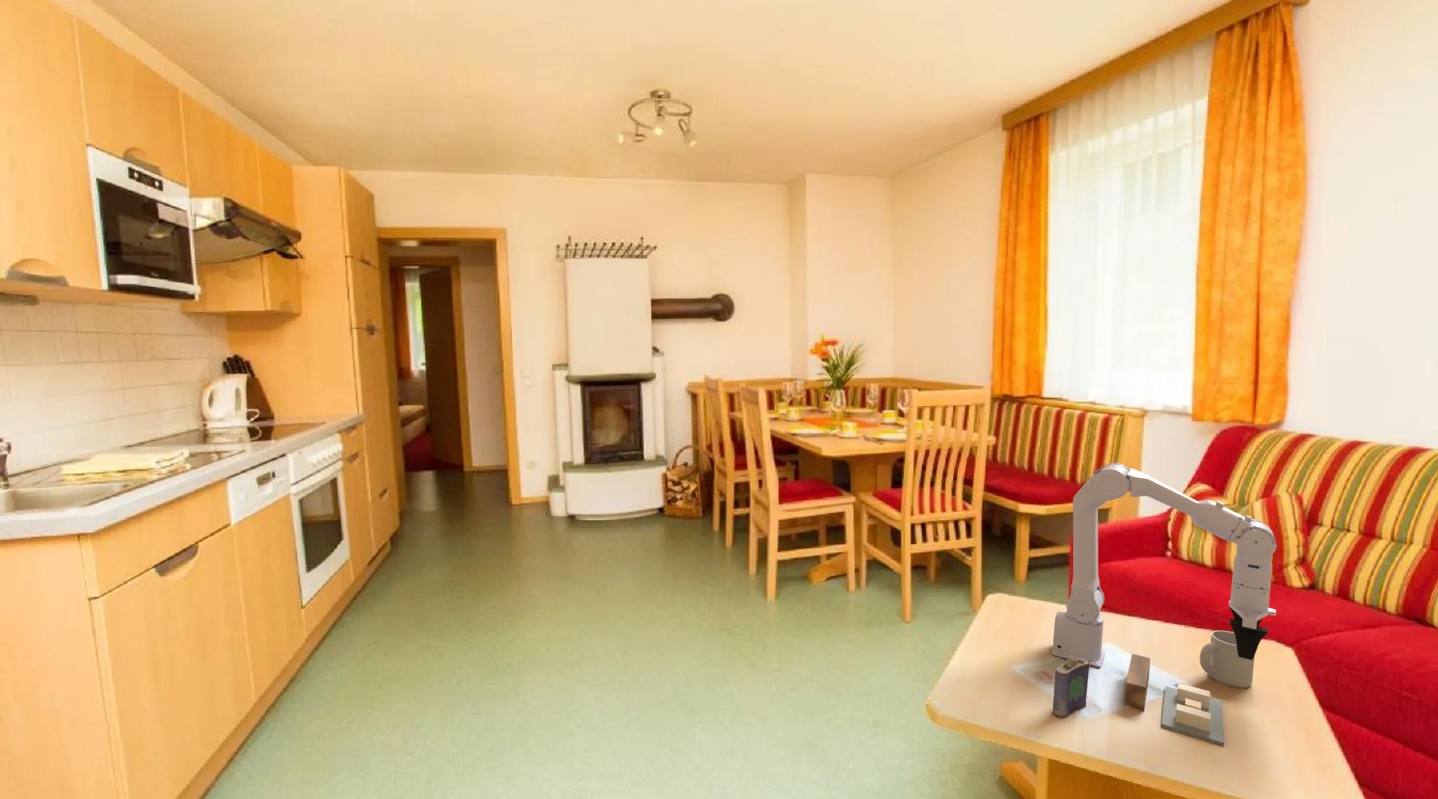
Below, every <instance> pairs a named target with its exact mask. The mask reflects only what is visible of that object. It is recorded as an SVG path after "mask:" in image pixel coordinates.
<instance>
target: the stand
mask: <svg viewBox="0 0 1438 799" xmlns="http://www.w3.org/2000/svg"><path fill="white" fill-rule="evenodd" d="M1222 703H1223V702H1222V701H1221V700H1218V699H1215V698H1211V692H1210V691H1209V690H1206V689H1202V688H1199V687H1194V686H1191V685H1187V684H1183V683H1180V682H1177V688H1174V687H1171V686H1167V685H1165V688H1164V696H1163V706H1162V707H1163V709H1162V717H1161V728H1164V729H1167V730H1171V731H1174V732H1177V733H1181V734H1183V735H1186V736H1189V737H1190V736H1191V737H1194V738H1196V739H1200V740H1203V741H1206V742H1210V743H1213V744H1215V745H1216V744H1217V745H1219V746H1225V735H1224V734H1225V733H1224V718H1223V716H1224V715H1223V704H1222Z"/></svg>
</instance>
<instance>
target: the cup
mask: <svg viewBox="0 0 1438 799" xmlns="http://www.w3.org/2000/svg"><path fill="white" fill-rule="evenodd" d="M1255 656H1256V655H1255ZM1255 656H1254V658H1253V660H1249V659H1245V658H1241V657H1239V656H1238V652H1237V645H1236V638H1235V634H1234V631H1228V630H1227V631H1226V630H1214V631H1211V635H1210V642H1208V643H1206V644H1205V645H1203V646H1202V648H1201V649H1200V653H1199V664H1200V666H1201V668H1202V670H1203V671H1204V672H1205V673H1208V675H1209V676H1210V677H1211V679H1213V680H1214V681H1216V682H1218V683H1220V684H1223V685H1226V686H1228V687H1231V688H1232V687H1233V688H1238V689H1239V688H1240V689H1246V688H1249V687H1251V685H1252V683H1253V678H1254V669H1255V668H1254V667H1255V666H1254V665H1255Z"/></svg>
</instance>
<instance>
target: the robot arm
mask: <svg viewBox="0 0 1438 799" xmlns="http://www.w3.org/2000/svg"><path fill="white" fill-rule="evenodd" d="M1128 492H1130V493H1129V498H1140V497H1147V498H1148V497H1149V498H1151V499H1152V500H1156V501H1157V502H1160V503H1161V504H1164V505H1166V506H1168V507H1170V508H1172V509H1175V510H1176V511H1180V512H1181V513H1183V514H1186V515H1188V516H1189V517H1190V519H1191V521H1192V522H1191V523H1192V524H1193V525H1195V526H1196V527H1198V528H1200V529H1202V530H1205V531H1206V532H1208V533H1210V534H1213V535H1215V536H1216V537H1218V538H1221V539H1222V540H1225V541H1226V542H1229V543H1234V544H1235V545H1236V554H1235V556H1234V558H1233V568H1232V569H1233V570H1232V577H1231V578H1232V580H1231V589H1230V590H1231V591H1230V600H1229V601H1228V606H1229V610H1230V611H1231V613H1232V616H1233V618H1231V617H1230V618H1229V625H1230V627H1231V629H1232V632H1233V633H1234V634H1235V638H1236V645H1237V652H1238V656H1239V657H1241V658H1245V659H1249V660H1253V658H1254V659H1255V657H1254V656H1256V654H1257V653H1256V652H1257V650H1258V648H1259V645H1260V643H1261V642H1262V640H1263V639H1264V638H1265V636H1267V634H1268V632H1269V629H1268V627H1263V626H1260V623H1261V622H1262V620H1263V619H1265V617H1267V616H1269V615H1270V616H1274V617H1275V616H1277V610H1276V608H1275V609H1274V608H1271V607H1269V606H1270V595H1271V584H1272V574H1273V563H1272V561H1273V557H1274V556H1273V553H1275V551H1276V550H1277V547H1278V545H1277V543H1276V539H1275V536H1274V533H1273V531H1272V529H1271V528H1270V526H1268V525H1267V524H1265V523H1263V522H1262V520H1259V519H1253V516H1249V515H1248V514H1246V515H1245V516H1244V515H1241V514H1240V513H1238V512H1235V511H1233V510H1231V509H1229V508H1227V507H1225V503H1224V502H1222V501H1220V500H1216V502H1214V501H1212V500H1210V499H1208V500H1207V499H1206V500H1202V501H1198V500H1196V499H1194V498H1192V497H1190V496H1188V495H1186V494H1184V492H1183V493H1182V492H1180V491H1179V490H1177V489H1175V488H1173V487H1171V486H1169V485H1167V484H1165V483H1163V482H1161V481H1160V480H1157V478H1154V477H1151V475H1148V474H1146V473H1144V472H1141V471H1140V470H1137V469H1135V468H1133V467H1132V468H1129V467H1128V466H1126V465H1124V464H1122V463H1118V462H1111V463H1107V464H1105V465H1104V466H1102V467H1100V468H1098V469H1097V470H1095V472H1094V473H1092V474H1091V476H1090V477H1089V479H1087V481H1086V482H1085V483H1084V484H1083V485H1082V487H1081V488H1080V489H1079V490H1078V491H1077V493H1076V494H1074V495H1073V499H1072V525H1073V526H1072V530H1073V532H1072V533H1073V534H1072V536H1073V538H1072V540H1073V541H1072V543H1073V545H1072V546H1073V548H1072V549H1073V550H1072V555H1073V557H1072V559H1073V561H1072V562H1073V566H1072V567H1073V568H1072V569H1073V571H1072V572H1073V576H1072V582H1071V588H1070V590H1071V592H1070V596H1069V597H1068V599H1067V601H1066V607H1065V608H1066V612H1065V611H1056V614H1055V618H1054V625H1053V638H1052V640H1053V642H1052V653H1051V654H1052V655H1053V656H1054V657H1055V656H1056V657H1060V658H1064V659H1066V660H1067V659H1068V656H1066V654H1071V655H1073V656H1074V659H1075V658H1076V659H1077V658H1082V659H1084V660H1087V661H1088V662H1089V666H1093V667H1095V668H1101V667H1102V664H1103V662H1104V658H1105V654H1106V653H1105V651H1103V650H1102V648H1103V646H1102V645H1103V633H1104V632H1103V630H1104V617H1103V616H1102V614H1101V612H1100V611H1101V609H1102V607H1103V606H1104V603H1105V594H1104V592H1103V591H1102V589H1101V586H1100V585H1101V584H1100V578H1099V508H1100V507H1101V506H1102V505H1104V504H1106V503H1107V502H1110V501H1113V500H1117V499H1120V498H1122V497H1124V496H1126V494H1127V493H1128ZM1071 655H1069V656H1071ZM1065 656H1066V657H1065Z"/></svg>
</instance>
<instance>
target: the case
mask: <svg viewBox="0 0 1438 799" xmlns="http://www.w3.org/2000/svg"><path fill="white" fill-rule="evenodd" d="M1150 666H1151V658H1150V657H1147V656H1143V655H1138V654H1136V653H1132V654H1131V657H1130V661H1129V668H1128V671H1127V675H1126V680H1125V681H1126V682H1125V689H1124V690H1125V691H1124V704H1123V706H1125V707H1129V708H1132V709H1135V710H1138V711H1142V712H1145V709H1146V708H1145V707H1146V700H1147V694H1148V689H1149V688H1148V687H1149V683H1150V682H1149V681H1150V680H1149V679H1150V671H1151V670H1150V668H1151V667H1150Z"/></svg>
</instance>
